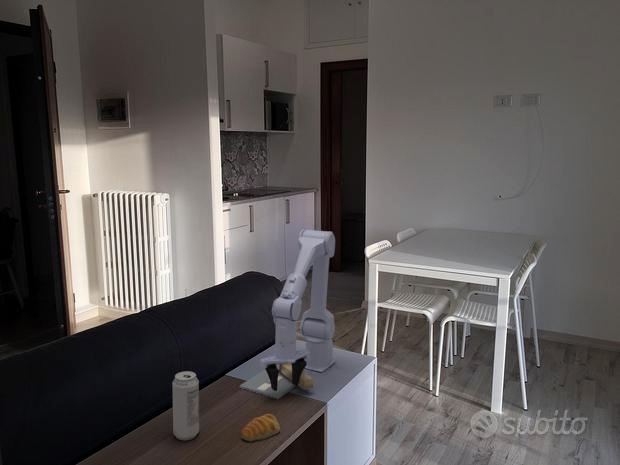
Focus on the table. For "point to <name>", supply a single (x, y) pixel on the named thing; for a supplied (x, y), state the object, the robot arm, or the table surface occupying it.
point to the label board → (268, 385)
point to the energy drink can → (185, 405)
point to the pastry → (260, 428)
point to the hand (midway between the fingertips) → (284, 386)
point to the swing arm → (304, 380)
